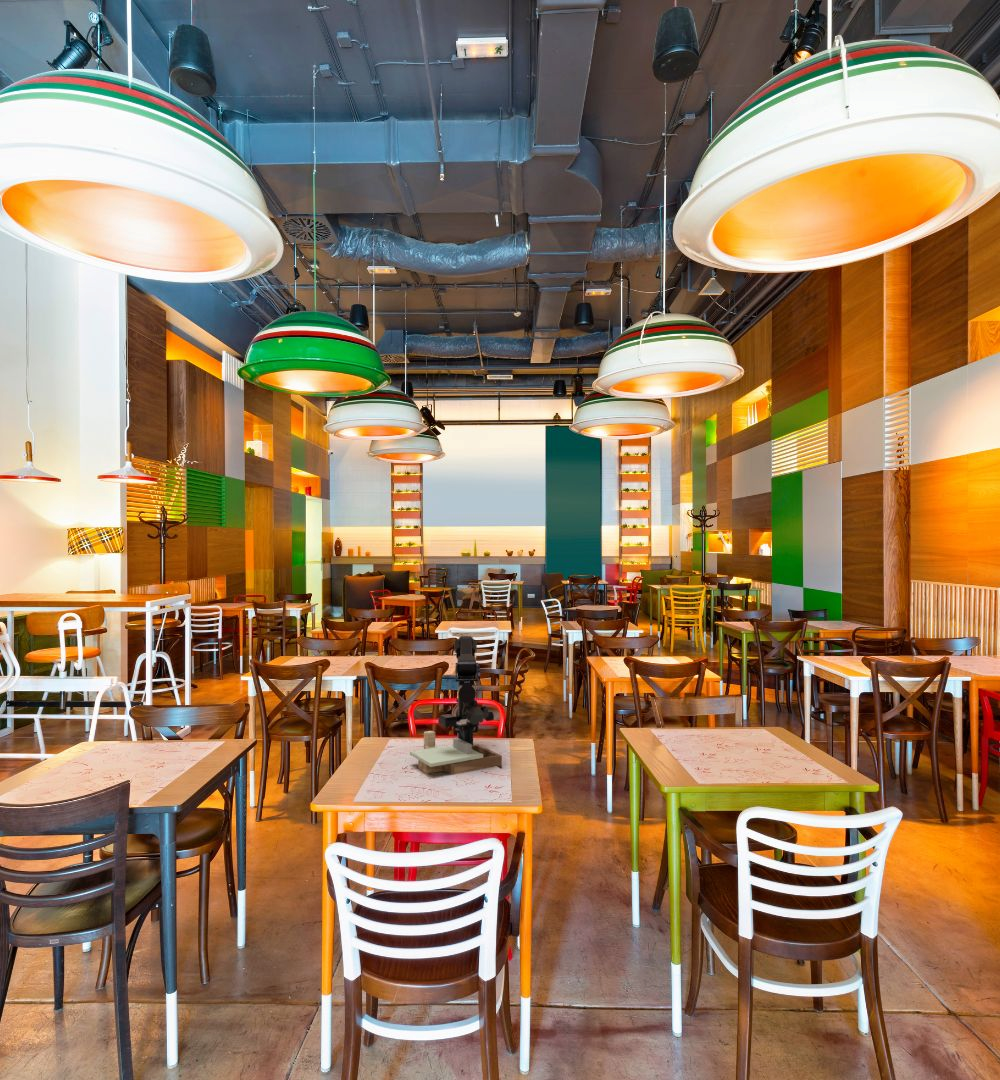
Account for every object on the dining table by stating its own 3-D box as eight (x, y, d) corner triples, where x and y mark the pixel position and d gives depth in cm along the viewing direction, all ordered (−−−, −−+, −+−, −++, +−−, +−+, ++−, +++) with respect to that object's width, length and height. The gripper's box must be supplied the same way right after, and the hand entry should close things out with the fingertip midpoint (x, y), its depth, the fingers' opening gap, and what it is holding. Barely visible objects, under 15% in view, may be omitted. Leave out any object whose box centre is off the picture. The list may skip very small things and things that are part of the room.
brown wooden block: (423, 757, 231) (423, 731, 232) (431, 756, 233) (431, 730, 233) (427, 759, 229) (427, 733, 229) (435, 758, 230) (435, 732, 231)
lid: (409, 754, 219) (409, 742, 219) (460, 746, 229) (460, 734, 229) (430, 766, 206) (430, 753, 206) (483, 757, 216) (483, 745, 216)
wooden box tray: (412, 767, 220) (412, 755, 220) (477, 756, 233) (477, 744, 233) (433, 781, 206) (433, 767, 206) (501, 768, 219) (501, 755, 219)
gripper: (453, 704, 210) (453, 753, 210) (502, 697, 220) (502, 745, 220) (437, 698, 220) (437, 745, 219) (485, 692, 230) (485, 737, 229)
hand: (466, 743), depth 222 cm, fingers closed
